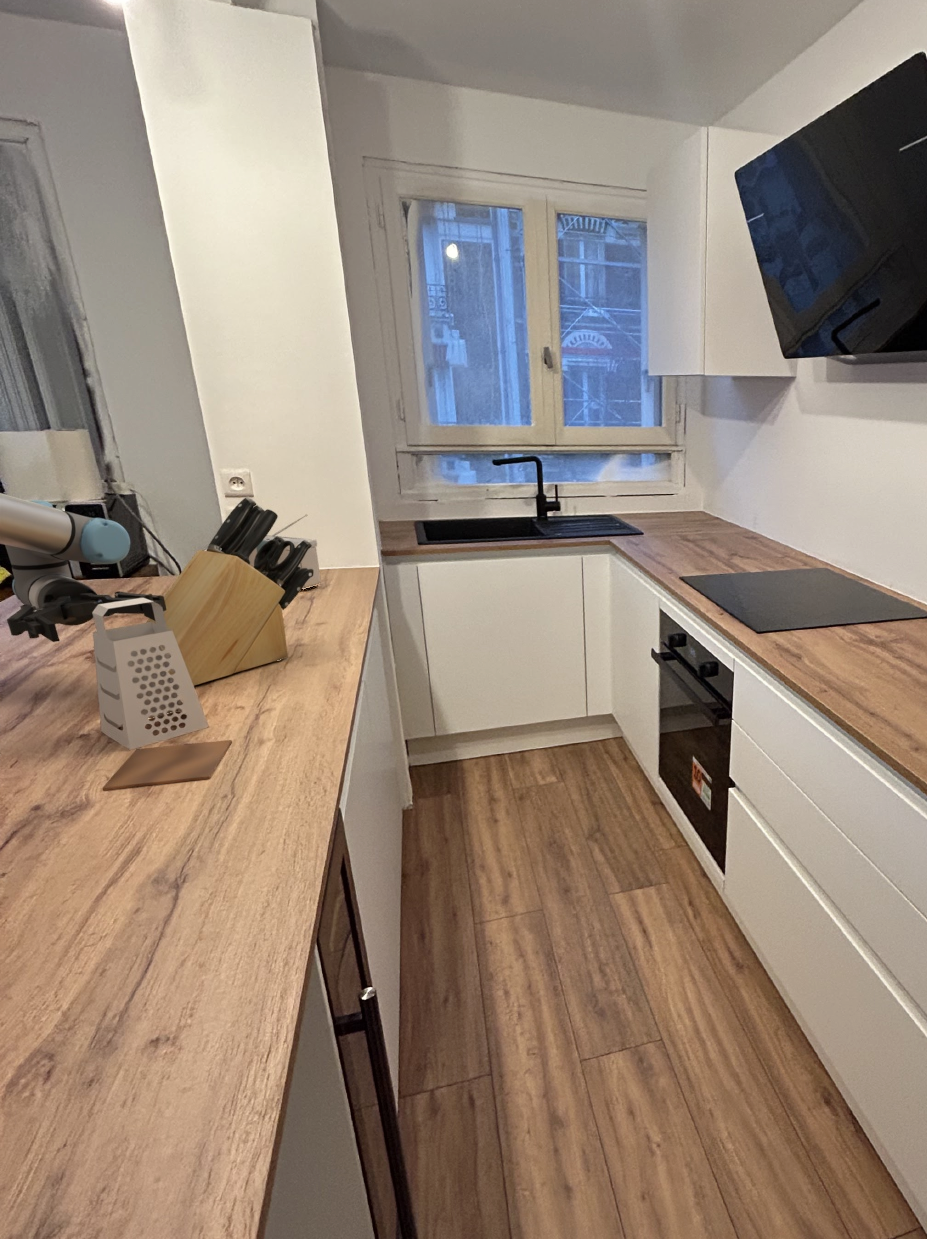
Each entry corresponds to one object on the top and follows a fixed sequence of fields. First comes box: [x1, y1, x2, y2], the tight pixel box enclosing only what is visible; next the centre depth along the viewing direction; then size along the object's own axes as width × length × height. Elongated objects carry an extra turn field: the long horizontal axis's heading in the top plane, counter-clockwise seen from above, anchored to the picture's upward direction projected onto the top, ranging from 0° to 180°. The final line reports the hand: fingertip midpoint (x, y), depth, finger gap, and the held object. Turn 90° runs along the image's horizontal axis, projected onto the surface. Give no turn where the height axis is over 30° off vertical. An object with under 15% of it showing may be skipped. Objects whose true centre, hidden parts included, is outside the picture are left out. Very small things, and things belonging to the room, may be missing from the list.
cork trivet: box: [102, 739, 233, 791], centre depth 101 cm, size 12×12×1 cm
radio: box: [249, 513, 322, 588], centre depth 199 cm, size 21×8×20 cm, turn 72°
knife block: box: [145, 496, 314, 687], centre depth 134 cm, size 11×35×31 cm, turn 155°
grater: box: [92, 598, 210, 751], centre depth 108 cm, size 10×10×20 cm
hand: (109, 623), depth 112 cm, fingers open, 13 cm apart
